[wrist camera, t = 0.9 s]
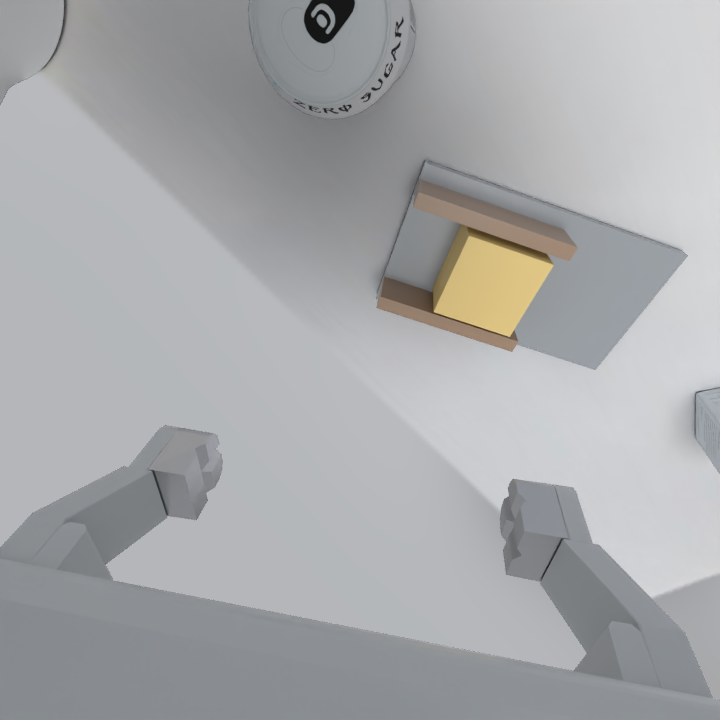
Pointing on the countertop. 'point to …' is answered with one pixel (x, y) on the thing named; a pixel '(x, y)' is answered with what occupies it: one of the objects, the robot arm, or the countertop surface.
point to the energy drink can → (332, 50)
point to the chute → (537, 231)
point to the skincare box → (709, 424)
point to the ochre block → (488, 280)
